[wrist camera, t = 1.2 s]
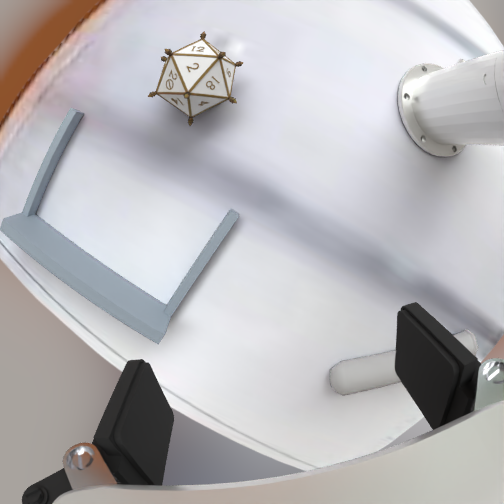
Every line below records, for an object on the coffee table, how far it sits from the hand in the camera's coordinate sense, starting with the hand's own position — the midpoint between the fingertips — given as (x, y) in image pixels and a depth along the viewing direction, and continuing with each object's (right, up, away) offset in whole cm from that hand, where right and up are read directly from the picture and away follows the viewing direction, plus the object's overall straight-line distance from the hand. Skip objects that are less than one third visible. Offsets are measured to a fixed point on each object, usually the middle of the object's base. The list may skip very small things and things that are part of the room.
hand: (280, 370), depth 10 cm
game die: (-7, +22, +19) cm, 30 cm away
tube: (+22, -12, +31) cm, 40 cm away
